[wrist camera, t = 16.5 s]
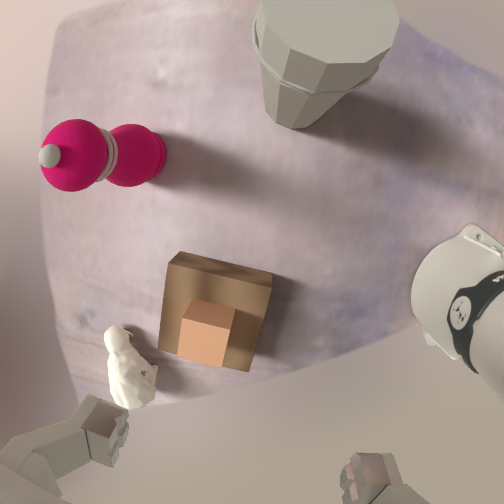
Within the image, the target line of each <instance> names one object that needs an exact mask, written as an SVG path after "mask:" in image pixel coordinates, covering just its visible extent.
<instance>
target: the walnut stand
mask: <svg viewBox="0 0 504 504" xmlns="http://www.w3.org/2000/svg"><path fill="white" fill-rule="evenodd" d="M271 291H272V273H269V272H265V271H261V270H256V269H252V268H248V267H244V266H239V265H235V264H231V263H227V262H223V261H218V260H214V259H210V258H206V257H202V256H198V255H194V254H190V253H185V252H181V251H180V252H179V253H178V254H177V255H176V256H175V257H174V258H173V259H172V260H171V261H170V262H169V263H168V268H167V275H166V282H165V290H164V297H163V305H162V313H161V322H160V331H159V341H158V349H159V350H162V351H166V352H169V353H173V354H176V355H177V351H178V344H179V337H180V330H181V323H182V317H183V316H184V314H185V312H186V310H187V309H188V307H189V305H190V303H191V301H192V300H193V298H194V299H198V300H202V301H206V302H210V303H214V304H218V305H222V306H226V307H230V308H234V309H235V313H234V317H233V321H232V326H231V330H230V334H229V339H228V343H227V347H226V351H225V355H224V359H223V363H222V366H223V367H227V368H231V369H236V370H240V371H245V372H249V369H250V366H251V362H252V359H253V356H254V352H255V349H256V345H257V342H258V338H259V334H260V331H261V327H262V324H263V320H264V317H265V313H266V309H267V306H268V302H269V298H270V295H271Z"/></svg>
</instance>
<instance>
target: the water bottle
mask: <svg viewBox="0 0 504 504" xmlns="http://www.w3.org/2000/svg"><path fill="white" fill-rule="evenodd" d="M399 23H400V20H399V17H398V14H397V10H396V7H395V4H394V1H393V0H259V7H258V11H257V13H256V16H255V18H254V21H253V23H252V45H253V47H254V49H255V51H256V53H257V55H258V58H259V63H260V70H261V78H262V86H263V95H264V101H265V108H266V112H267V113H268V114H269V115H270V116H271V118H272V119H273V120H274V121H275V123H277V124H280V125H282V126H285V127H287V128H289V129H296V128H306V127H308V126H309V125H311V124H312V123H314V122H315V121H316V120H318V119H319V118H320V117H321V116H322V115H323V114H324V113H326V112H327V111H328V110H329V109H330V108H331V107H332V106H333V105H334V104H335V103H336V102H337V101H338V100H340V99H341V98H342V97H343V96H344V95H345V94H346V93H349V92H352V91H354V90H356V89H358V88H360V87H362V86H364V85H366V84H368V82H369V81H370V80H371V78H372V77H373V76H374V74H375V73H376V72H377V70H378V68H379V63H380V62H381V61H382V59H383V58H384V56H385V55H386V53H387V52H388V50H389V49H390V48H391V45H392V43H393V40H394V37H395V34H396V31H397V28H398V26H399Z"/></svg>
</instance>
